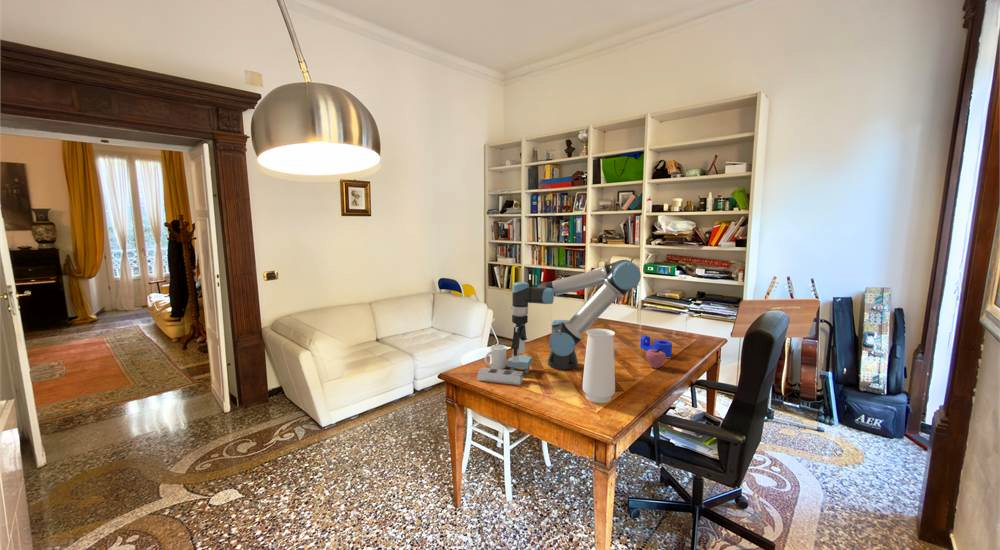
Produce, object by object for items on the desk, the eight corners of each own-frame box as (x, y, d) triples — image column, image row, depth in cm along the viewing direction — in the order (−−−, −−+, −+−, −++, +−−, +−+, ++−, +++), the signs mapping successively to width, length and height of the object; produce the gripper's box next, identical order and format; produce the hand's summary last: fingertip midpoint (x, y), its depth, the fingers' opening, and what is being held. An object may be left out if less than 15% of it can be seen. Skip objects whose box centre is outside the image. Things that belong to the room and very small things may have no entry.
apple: (658, 363, 205) (659, 344, 203) (669, 369, 196) (670, 350, 195) (641, 365, 203) (642, 346, 201) (652, 371, 194) (653, 351, 193)
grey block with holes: (523, 379, 184) (523, 371, 183) (520, 385, 178) (520, 376, 177) (482, 375, 189) (482, 367, 189) (477, 380, 183) (477, 372, 183)
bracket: (675, 357, 214) (675, 344, 213) (661, 359, 211) (662, 345, 210) (649, 347, 233) (650, 334, 232) (637, 349, 229) (637, 336, 228)
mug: (488, 372, 193) (488, 352, 191) (480, 367, 200) (480, 347, 198) (509, 367, 199) (509, 347, 198) (500, 362, 206) (500, 343, 205)
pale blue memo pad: (531, 369, 197) (531, 356, 196) (527, 375, 188) (527, 362, 188) (512, 367, 200) (512, 354, 199) (507, 373, 191) (507, 360, 190)
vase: (619, 404, 159) (622, 336, 155) (587, 405, 158) (589, 337, 154) (608, 390, 172) (610, 327, 168) (578, 391, 171) (580, 328, 167)
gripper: (518, 308, 203) (517, 348, 206) (505, 319, 180) (504, 365, 182) (532, 309, 201) (531, 350, 204) (521, 321, 178) (520, 367, 180)
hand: (518, 357), depth 193 cm, fingers open, 13 cm apart
